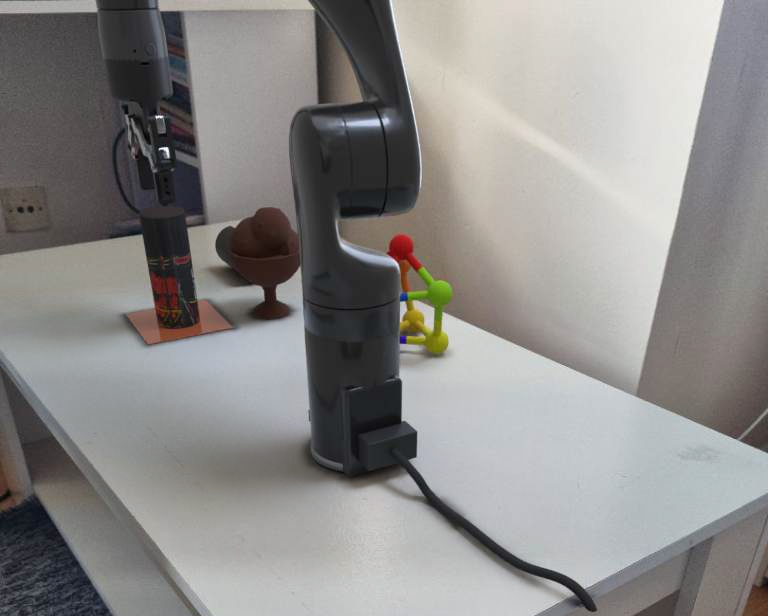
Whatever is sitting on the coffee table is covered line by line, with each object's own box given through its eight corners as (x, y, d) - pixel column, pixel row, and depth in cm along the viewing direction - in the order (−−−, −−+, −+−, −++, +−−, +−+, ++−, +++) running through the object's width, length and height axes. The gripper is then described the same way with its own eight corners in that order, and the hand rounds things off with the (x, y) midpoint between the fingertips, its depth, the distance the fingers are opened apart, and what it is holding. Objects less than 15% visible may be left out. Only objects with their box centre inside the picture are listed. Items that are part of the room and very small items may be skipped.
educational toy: (331, 348, 110) (321, 234, 102) (409, 328, 115) (405, 219, 108) (392, 380, 98) (386, 254, 90) (476, 356, 104) (477, 236, 96)
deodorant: (153, 316, 116) (134, 209, 107) (194, 310, 118) (179, 204, 109) (162, 331, 111) (143, 220, 103) (204, 324, 113) (189, 215, 105)
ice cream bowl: (313, 299, 122) (308, 196, 113) (300, 328, 113) (293, 218, 104) (245, 297, 123) (234, 194, 114) (226, 325, 113) (213, 216, 105)
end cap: (217, 269, 133) (212, 228, 129) (257, 262, 136) (253, 221, 132) (241, 287, 126) (236, 244, 122) (282, 279, 129) (279, 237, 125)
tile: (233, 328, 113) (233, 327, 113) (148, 344, 108) (148, 343, 108) (205, 300, 121) (205, 300, 121) (126, 315, 117) (126, 314, 117)
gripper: (90, 50, 99) (115, 188, 108) (118, 60, 89) (143, 212, 98) (150, 47, 102) (170, 181, 111) (184, 57, 92) (202, 204, 101)
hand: (157, 196), depth 105 cm, fingers open, 8 cm apart
